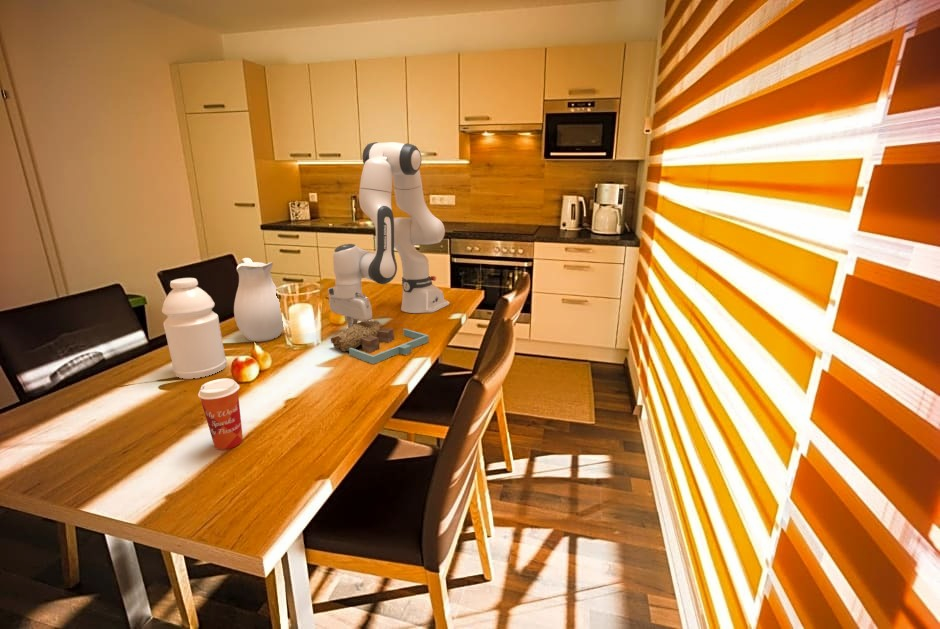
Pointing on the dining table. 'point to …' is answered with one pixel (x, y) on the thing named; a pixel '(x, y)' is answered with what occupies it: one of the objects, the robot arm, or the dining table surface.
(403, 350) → the grey piece
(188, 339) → the bottle
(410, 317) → the dining table surface
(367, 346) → the chip
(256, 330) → the pitcher
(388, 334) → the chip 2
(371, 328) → the rough brown rock
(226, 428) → the paper cup
